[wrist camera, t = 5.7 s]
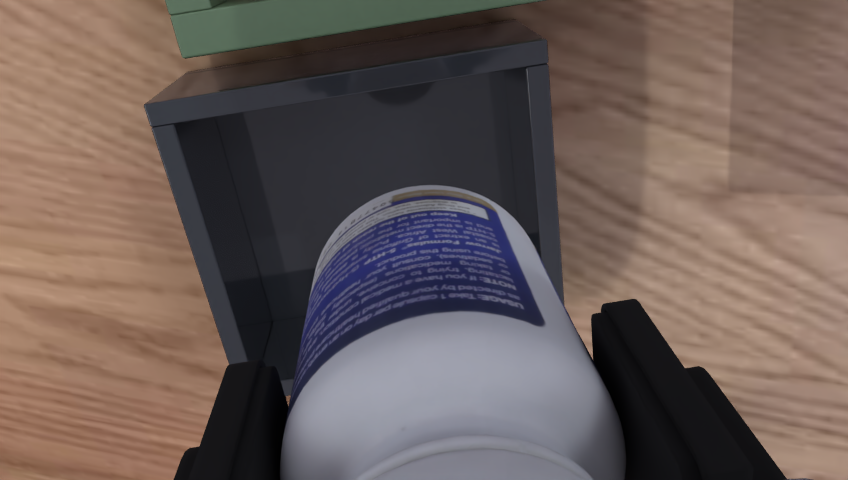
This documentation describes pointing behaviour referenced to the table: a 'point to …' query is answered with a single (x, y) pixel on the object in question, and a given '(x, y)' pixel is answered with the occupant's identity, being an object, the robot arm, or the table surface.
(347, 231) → the pill bottle
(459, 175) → the dark grey open bin
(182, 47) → the rack
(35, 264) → the table surface
